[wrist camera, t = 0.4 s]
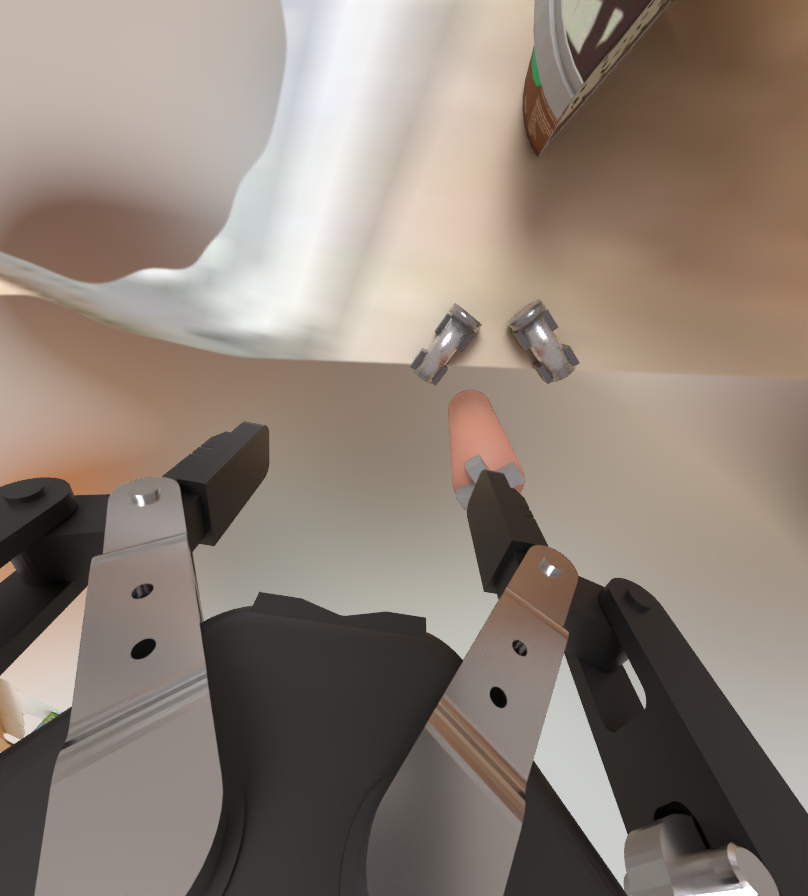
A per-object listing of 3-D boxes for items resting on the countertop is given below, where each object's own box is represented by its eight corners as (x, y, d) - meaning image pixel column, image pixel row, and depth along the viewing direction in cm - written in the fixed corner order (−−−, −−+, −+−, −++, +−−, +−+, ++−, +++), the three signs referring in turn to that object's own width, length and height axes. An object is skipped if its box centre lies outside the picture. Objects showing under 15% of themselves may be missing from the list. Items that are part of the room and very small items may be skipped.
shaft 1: (454, 303, 27) (455, 303, 25) (479, 323, 28) (483, 326, 25) (411, 363, 30) (408, 369, 28) (435, 381, 31) (434, 389, 28)
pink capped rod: (477, 381, 30) (506, 444, 17) (498, 416, 32) (541, 501, 18) (440, 404, 32) (439, 479, 18) (461, 437, 33) (475, 530, 20)
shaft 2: (504, 322, 28) (511, 325, 25) (534, 299, 27) (545, 299, 24) (542, 380, 30) (552, 387, 27) (572, 360, 28) (585, 366, 26)
